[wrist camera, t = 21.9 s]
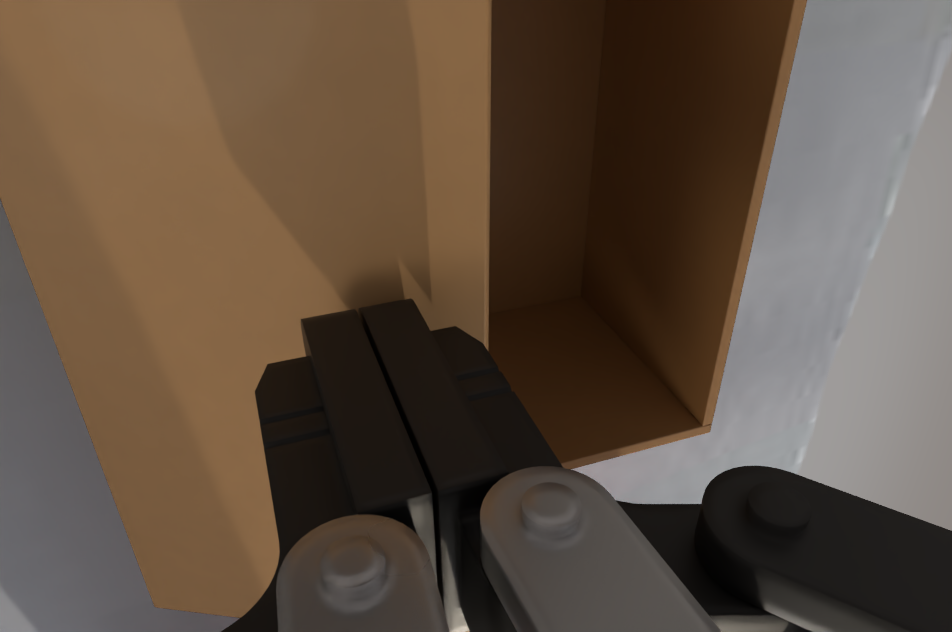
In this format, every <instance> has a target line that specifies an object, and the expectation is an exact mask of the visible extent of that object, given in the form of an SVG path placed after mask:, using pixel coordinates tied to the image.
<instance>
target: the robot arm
mask: <svg viewBox="0 0 952 632" xmlns="http://www.w3.org/2000/svg"><path fill="white" fill-rule="evenodd" d="M301 330H302V336H303V342H304V348H305V355H306V356H305V357H300V358H295V359H290V360H285V361H280V362H275V363H270V364H267V366H266V368H265V370H264V373H263V375H262V377H261V379H260V381H259V383H258V385H257V388H256V390H255V397H256V403H257V409H258V415H259V421H260V428H261V434H262V440H263V446H264V452H265V459H266V465H267V471H268V477H269V483H270V489H271V495H272V502H273V508H274V514H275V520H276V526H277V532H278V538H279V550H280V553H279V560H278V565H277V568H276V571H275V575H274V577H273V579H272V581H271V583H270V585H269V587H268V588H267V589H266V591H265V592H264V594H263V595H262V597H261V598H260V599H259V600H258V601H257V603H256V604H255V605H254V606H253V607H252V608H251V609H250V610H249V611H248V612H247V613H246V614H244V615H243V616H242V617H241V618H240V619H239V620H238V621H236V622H235V623H233V624H232V625H230V626H229V627H227V628H226V629H224V630H223V631H221V632H467V631H470V632H952V531H950V530H948V529H945V528H942V527H939V526H936V525H934V524H931V523H928V522H926V521H923V520H920V519H917V518H915V517H912V516H909V515H906V514H904V513H901V512H898V511H895V510H893V509H890V508H887V507H884V506H882V505H879V504H876V503H873V502H871V501H868V500H865V499H862V498H860V497H857V496H854V495H851V494H849V493H846V492H843V491H840V490H838V489H835V488H832V487H829V486H827V485H824V484H821V483H818V482H816V481H813V480H810V479H807V478H805V477H802V476H799V475H797V474H794V473H791V472H788V471H784V470H781V469H777V468H772V467H765V466H743V467H737V468H733V469H730V470H727V471H724V472H723V473H721V474H719V475H717V476H716V477H715V478H714V479H713V480H712V481H711V482H710V483H709V484H708V486H707V487H706V489H705V492H704V495H703V499H702V504H633V503H627V502H621V501H617V500H615V499H614V498H613V497H612V496H611V494H610V493H609V492H608V491H607V490H606V489H605V488H604V487H603V486H602V485H600V484H599V483H598V482H596V481H595V480H593V479H591V478H590V477H588V476H586V475H584V474H582V473H579V472H577V471H574V470H570V469H566V468H564V467H563V466H562V465H561V463H560V462H559V460H558V459H557V457H556V455H555V454H554V452H553V451H552V449H551V448H550V446H549V445H548V443H547V442H546V440H545V438H544V437H543V435H542V434H541V432H540V431H539V429H538V428H537V426H536V425H535V423H534V421H533V420H532V418H531V417H530V415H529V414H528V412H527V411H526V409H525V407H524V406H523V404H522V403H521V401H520V400H519V398H518V397H517V395H516V394H515V392H514V391H513V392H512V390H511V386H510V384H509V383H508V381H507V380H506V378H505V377H504V375H503V373H502V372H499V369H498V366H497V364H496V363H495V361H494V359H493V358H492V356H491V355H490V353H489V352H488V350H487V349H486V347H485V346H484V344H483V343H482V342H480V341H479V340H477V339H476V338H474V337H472V336H471V335H469V334H468V333H466V332H464V331H463V330H461V329H460V328H458V327H457V326H453V327H448V328H443V329H438V330H433V331H430V329H429V327H428V325H427V323H426V322H425V320H424V318H423V316H422V314H421V313H420V311H419V309H418V307H417V305H416V304H415V302H414V300H413V299H411V298H409V299H404V300H398V301H393V302H387V303H382V304H377V305H371V306H366V307H361V308H358V313H357V311H356V310H355V309H351V310H346V311H340V312H335V313H330V314H324V315H319V316H313V317H308V318H303V319H301Z"/></svg>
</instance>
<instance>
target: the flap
mask: <svg viewBox="0 0 952 632" xmlns="http://www.w3.org/2000/svg"><path fill="white" fill-rule="evenodd" d="M491 8H492V0H0V199H1V202H2V204H3V207H4V210H5V212H6V215H7V218H8V220H9V223H10V225H11V228H12V231H13V233H14V236H15V239H16V241H17V244H18V247H19V249H20V252H21V255H22V257H23V260H24V263H25V265H26V268H27V270H28V273H29V276H30V278H31V281H32V284H33V286H34V289H35V292H36V294H37V297H38V300H39V302H40V305H41V308H42V310H43V313H44V315H45V318H46V321H47V323H48V326H49V329H50V331H51V334H52V337H53V339H54V342H55V345H56V347H57V350H58V353H59V355H60V358H61V360H62V363H63V366H64V368H65V371H66V374H67V376H68V379H69V382H70V384H71V387H72V390H73V392H74V395H75V398H76V400H77V403H78V405H79V408H80V411H81V413H82V416H83V419H84V421H85V424H86V427H87V429H88V432H89V435H90V437H91V440H92V443H93V445H94V448H95V450H96V453H97V456H98V458H99V461H100V464H101V466H102V469H103V472H104V474H105V477H106V480H107V482H108V485H109V488H110V490H111V493H112V495H113V498H114V501H115V503H116V506H117V509H118V511H119V514H120V517H121V519H122V522H123V525H124V527H125V530H126V533H127V535H128V538H129V540H130V543H131V546H132V548H133V551H134V554H135V556H136V559H137V562H138V564H139V567H140V570H141V572H142V575H143V578H144V580H145V583H146V585H147V588H148V591H149V593H150V596H151V599H152V601H153V604H154V606H155V607H157V608H165V609H173V610H181V611H189V612H197V613H205V614H213V615H221V616H229V617H237V618H241V617H242V616H243V615H244V614H246V613H247V612H248V611H249V610H250V609H251V608H252V607H253V606H254V605H255V604H256V603H257V601H258V600H259V599H260V598H261V597H262V595H263V594H264V592H265V591H266V589H267V588H268V587H269V585H270V583H271V581H272V579H273V577H274V575H275V571H276V568H277V565H278V560H279V553H280V550H279V538H278V532H277V526H276V520H275V514H274V508H273V502H272V495H271V489H270V483H269V477H268V471H267V465H266V459H265V452H264V446H263V440H262V434H261V428H260V421H259V415H258V409H257V403H256V397H255V390H256V388H257V385H258V383H259V381H260V379H261V377H262V375H263V373H264V370H265V368H266V366H267V364H270V363H275V362H280V361H285V360H290V359H295V358H300V357H305V356H306V355H305V348H304V342H303V336H302V330H301V319H303V318H308V317H313V316H319V315H324V314H330V313H335V312H340V311H346V310H351V309H355V310H356V311H357V313H358V308H361V307H366V306H371V305H377V304H382V303H387V302H393V301H398V300H404V299H409V298H411V299H413V300H414V302H415V304H416V305H417V307H418V309H419V311H420V313H421V314H422V316H423V318H424V320H425V322H426V323H427V325H428V327H429V329H430V331H433V330H438V329H443V328H448V327H453V326H457V327H458V328H460V329H461V330H463V331H464V332H466V333H468V334H469V335H471V336H472V337H474V338H476V339H477V340H479V341H480V342H482V343H483V344H484V346H485V347H486V349H487V350H488V332H489V224H490V116H491ZM467 632H470V631H467Z"/></svg>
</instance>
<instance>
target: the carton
mask: <svg viewBox="0 0 952 632" xmlns="http://www.w3.org/2000/svg"><path fill="white" fill-rule="evenodd" d="M806 3H807V0H492V8H491V116H490V224H489V332H488V352H489V353H490V355H491V356H492V358H493V359H494V361H495V363H496V364H497V366H498V369H499V372H502V373H503V375H504V377H505V378H506V380H507V381H508V383H509V384H510V386H511V390H512V392H513V391H514V392H515V394H516V395H517V397H518V398H519V400H520V401H521V403H522V404H523V406H524V407H525V409H526V411H527V412H528V414H529V415H530V417H531V418H532V420H533V421H534V423H535V425H536V426H537V428H538V429H539V431H540V432H541V434H542V435H543V437H544V438H545V440H546V442H547V443H548V445H549V446H550V448H551V449H552V451H553V452H554V454H555V455H556V457H557V459H558V460H559V462H560V463H561V465H562V466H563V467H564V468H566V469H574V468H578V467H581V466H585V465H589V464H593V463H596V462H600V461H604V460H608V459H611V458H615V457H619V456H623V455H626V454H630V453H634V452H638V451H641V450H645V449H649V448H652V447H656V446H660V445H664V444H667V443H671V442H675V441H679V440H682V439H686V438H690V437H694V436H697V435H701V434H705V433H709V432H710V430H711V425H712V424H711V423H712V421H713V416H714V412H715V407H716V403H717V399H718V394H719V390H720V385H721V381H722V376H723V372H724V367H725V363H726V358H727V354H728V350H729V345H730V341H731V336H732V332H733V327H734V323H735V318H736V314H737V310H738V305H739V301H740V296H741V292H742V287H743V283H744V278H745V274H746V270H747V265H748V261H749V256H750V252H751V247H752V243H753V238H754V234H755V230H756V225H757V221H758V216H759V212H760V207H761V203H762V198H763V194H764V190H765V185H766V181H767V176H768V172H769V167H770V163H771V158H772V154H773V150H774V145H775V141H776V136H777V132H778V127H779V123H780V118H781V114H782V110H783V105H784V101H785V96H786V92H787V87H788V83H789V78H790V74H791V70H792V65H793V61H794V56H795V52H796V47H797V43H798V38H799V34H800V30H801V25H802V21H803V16H804V12H805V7H806Z"/></svg>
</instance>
